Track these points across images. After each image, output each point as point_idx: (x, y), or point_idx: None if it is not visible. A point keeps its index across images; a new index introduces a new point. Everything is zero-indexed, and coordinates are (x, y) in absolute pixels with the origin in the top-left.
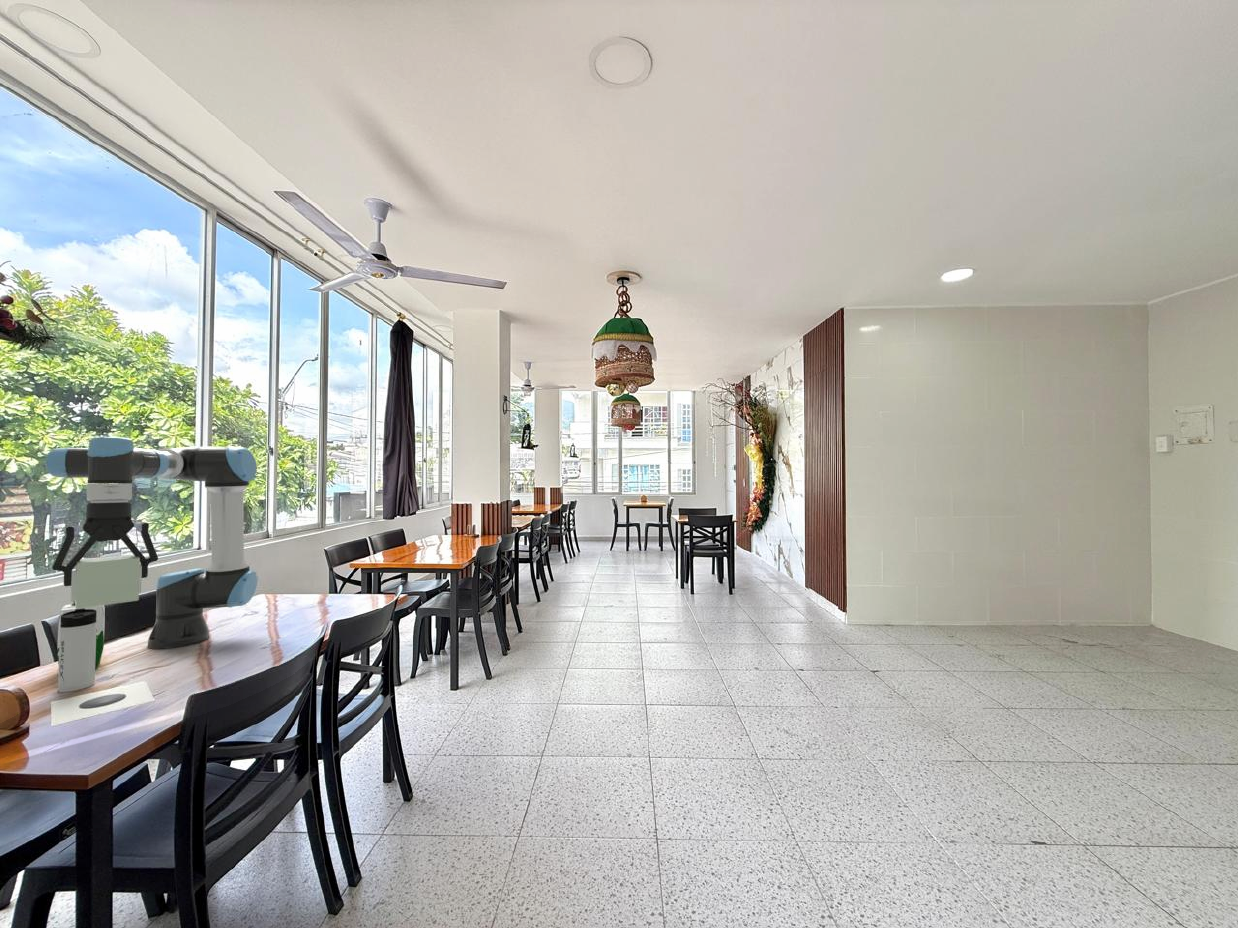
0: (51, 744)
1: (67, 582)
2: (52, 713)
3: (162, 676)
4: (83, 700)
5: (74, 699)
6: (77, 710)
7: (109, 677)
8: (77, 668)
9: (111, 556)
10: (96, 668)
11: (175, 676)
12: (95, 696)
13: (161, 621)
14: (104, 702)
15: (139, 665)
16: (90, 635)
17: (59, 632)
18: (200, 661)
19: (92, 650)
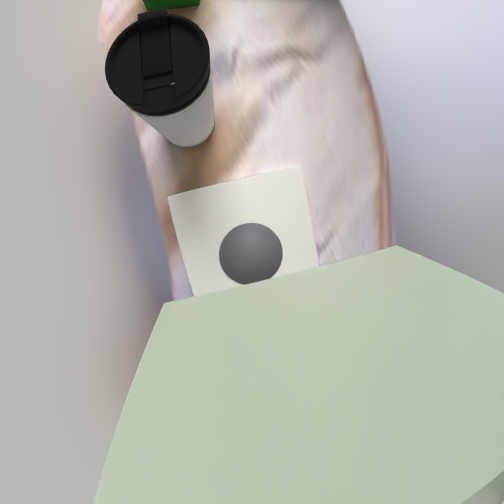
0: None
1: None
2: (188, 271)
3: (320, 129)
4: (218, 225)
5: (201, 207)
6: (222, 281)
7: (228, 65)
8: (187, 139)
9: (485, 489)
10: (199, 3)
11: (341, 148)
12: (232, 212)
13: None
14: (255, 267)
15: (268, 22)
16: (202, 107)
17: None
18: (368, 78)
19: (209, 112)
